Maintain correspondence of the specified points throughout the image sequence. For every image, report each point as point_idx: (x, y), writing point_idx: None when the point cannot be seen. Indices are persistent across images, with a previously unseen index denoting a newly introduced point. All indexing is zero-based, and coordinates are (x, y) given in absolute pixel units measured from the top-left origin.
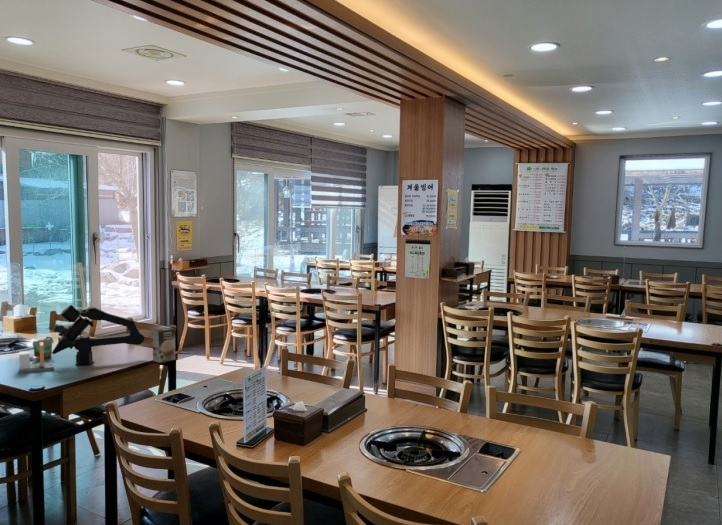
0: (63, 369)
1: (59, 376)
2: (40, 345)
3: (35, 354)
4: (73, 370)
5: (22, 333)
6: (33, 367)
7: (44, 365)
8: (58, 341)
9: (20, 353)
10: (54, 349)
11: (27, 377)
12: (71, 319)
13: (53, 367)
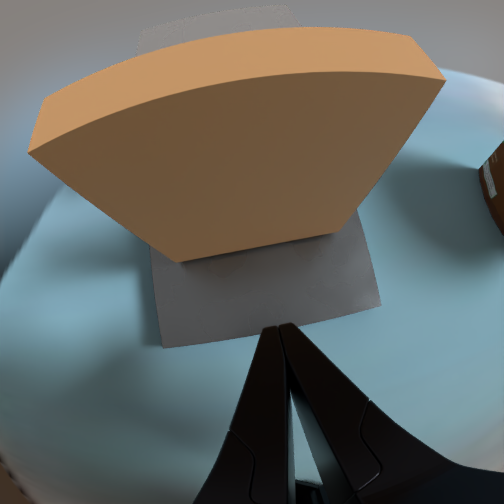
0: (178, 412)
1: (28, 374)
2: (56, 98)
3: (498, 154)
4: (135, 466)
5: None
6: None
7: (251, 255)
8: (434, 491)
9: (195, 19)
10: (256, 376)
11: (62, 199)
12: None
13: (163, 343)
